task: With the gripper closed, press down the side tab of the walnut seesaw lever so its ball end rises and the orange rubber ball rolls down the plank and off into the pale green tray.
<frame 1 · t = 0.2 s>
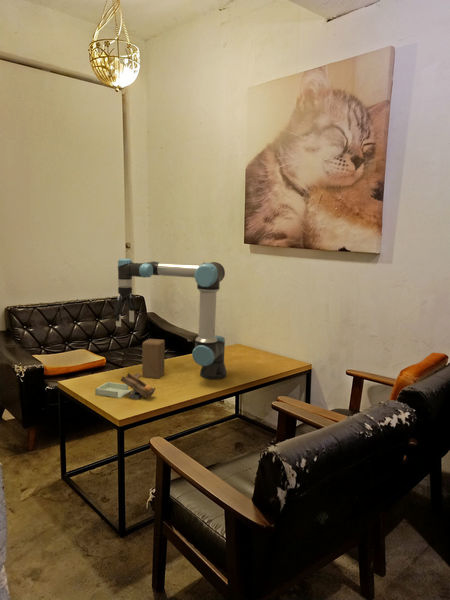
hand: (125, 324, 256), 28 cm above the table, fingers open, 13 cm apart
wooden block: (153, 375, 255), on the table
fulcrum: (137, 396, 223), on the table
tray: (113, 392, 227), on the table
lever: (141, 382, 226), point 6 cm above the table, hinge at -25.0°, touching ball
ball: (148, 388, 221), point 5 cm above the table, tilted 9°, touching lever
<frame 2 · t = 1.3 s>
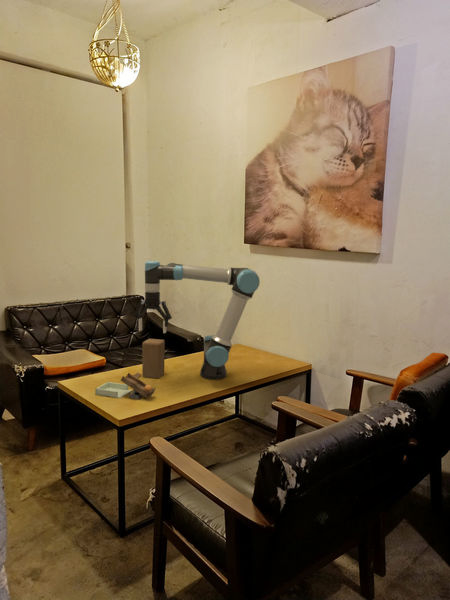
hand: (152, 331, 237), 28 cm above the table, fingers open, 13 cm apart
nothing on the table moved.
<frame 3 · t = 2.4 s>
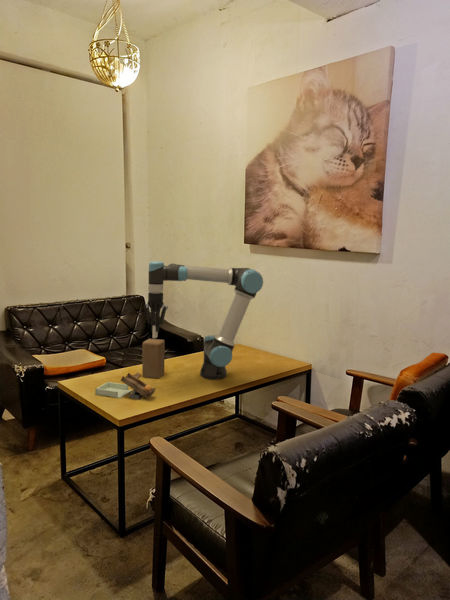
hand: (154, 337, 234), 26 cm above the table, fingers closed
nothing on the table moved.
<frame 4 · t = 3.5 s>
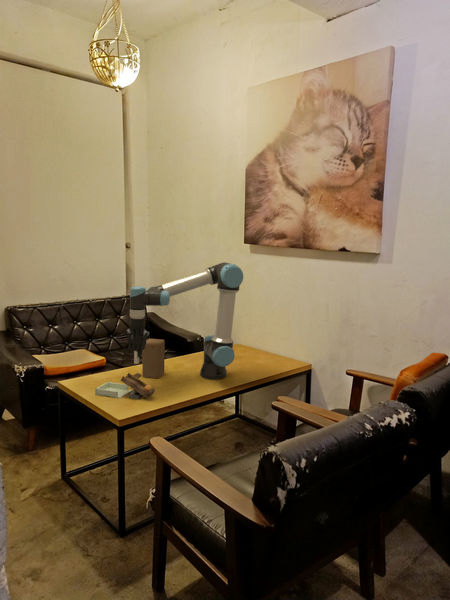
hand: (136, 363, 231), 14 cm above the table, fingers closed
nothing on the table moved.
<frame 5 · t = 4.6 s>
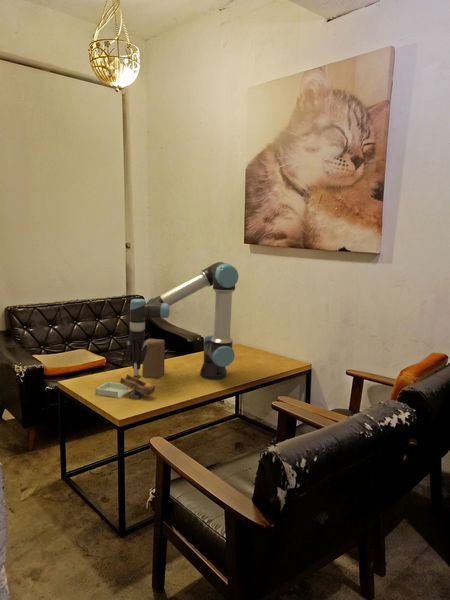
hand: (136, 374, 232), 8 cm above the table, fingers closed
lever: (141, 382, 226), point 6 cm above the table, hinge at -16.4°, touching ball, gripper
ball: (148, 386, 220), point 6 cm above the table, touching lever
everything else where it was.
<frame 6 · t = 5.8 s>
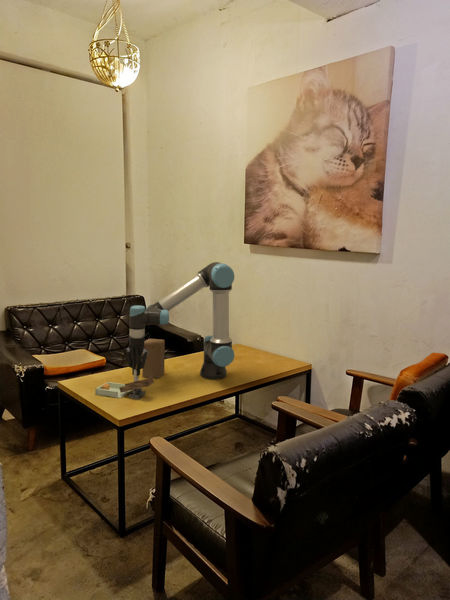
hand: (136, 381, 232), 4 cm above the table, fingers closed
lever: (140, 381, 226), point 6 cm above the table, hinge at 19.2°, touching gripper
ball: (106, 387, 228), point 2 cm above the table, tilted 61°, touching tray
everything else where it was.
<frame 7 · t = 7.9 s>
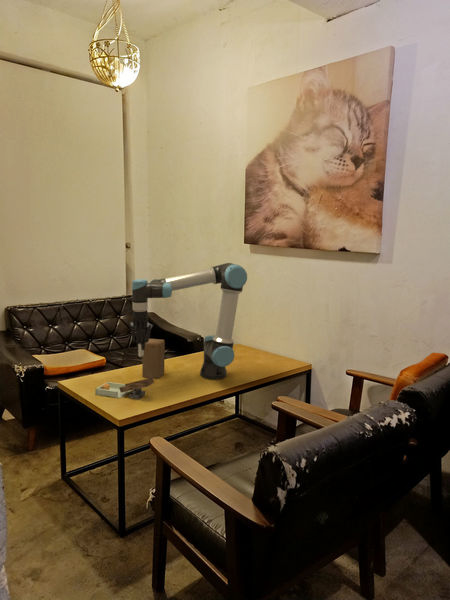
hand: (141, 355, 231), 17 cm above the table, fingers closed
lever: (140, 381, 226), point 6 cm above the table, hinge at 19.6°
everything else where it was.
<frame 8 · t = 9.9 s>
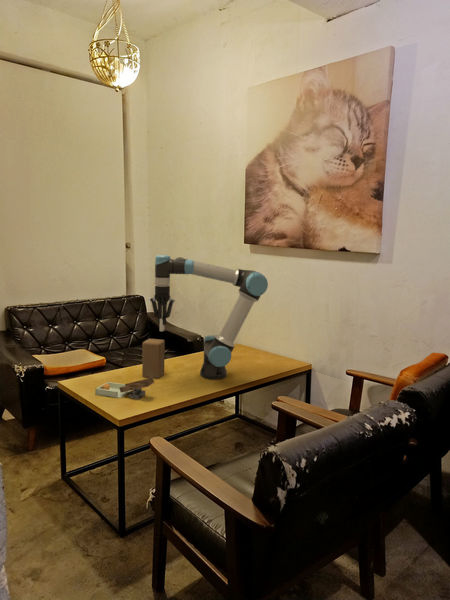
hand: (162, 330, 235), 29 cm above the table, fingers closed
nothing on the table moved.
at the end: ball inside the target area (4.4 cm from its centre), point 2.3 cm above the table; lever at +20° (first picture: -25°) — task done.
